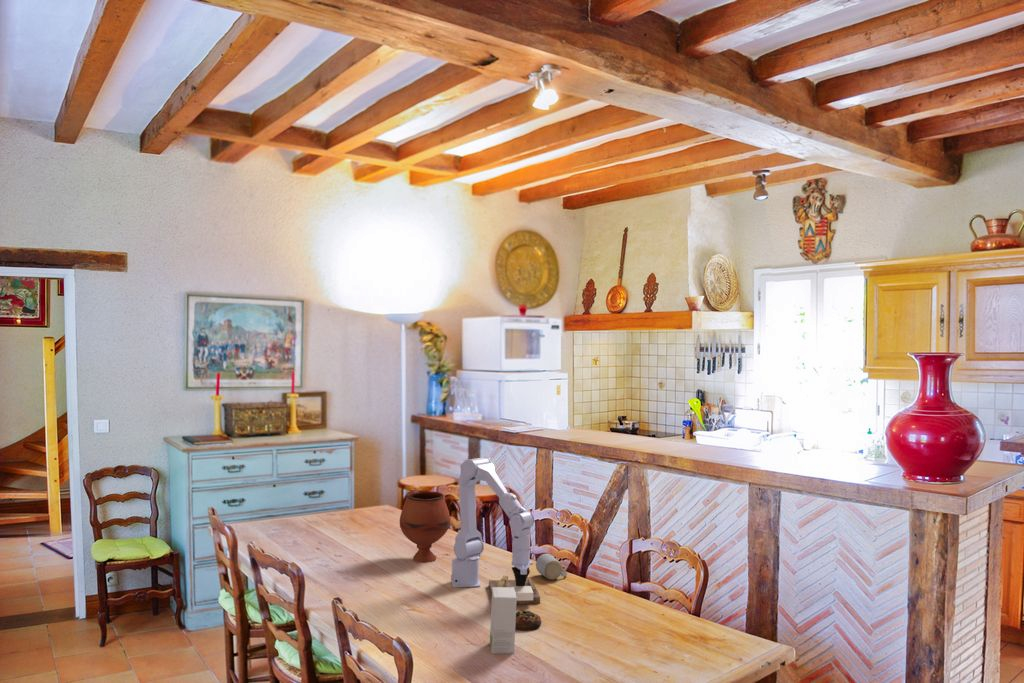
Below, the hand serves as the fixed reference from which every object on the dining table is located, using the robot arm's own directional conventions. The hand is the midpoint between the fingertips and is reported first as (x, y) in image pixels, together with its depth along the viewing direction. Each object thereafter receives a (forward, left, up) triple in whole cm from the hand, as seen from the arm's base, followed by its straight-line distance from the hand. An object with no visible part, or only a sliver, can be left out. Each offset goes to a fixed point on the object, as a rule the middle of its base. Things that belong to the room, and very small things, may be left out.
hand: (520, 590), depth 249 cm
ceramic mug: (+15, +23, -3) cm, 28 cm away
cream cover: (0, -4, -1) cm, 4 cm away
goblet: (-31, +47, -3) cm, 56 cm away
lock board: (-2, +5, -3) cm, 6 cm away
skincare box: (-10, -39, -3) cm, 41 cm away
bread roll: (-2, -22, -3) cm, 22 cm away
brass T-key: (-6, -3, -1) cm, 7 cm away
